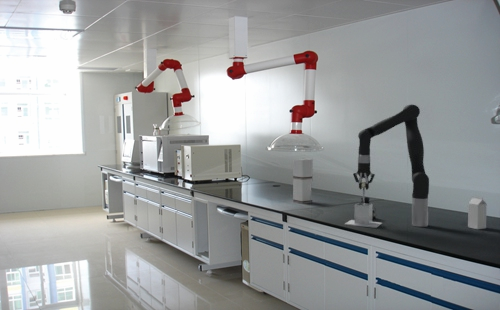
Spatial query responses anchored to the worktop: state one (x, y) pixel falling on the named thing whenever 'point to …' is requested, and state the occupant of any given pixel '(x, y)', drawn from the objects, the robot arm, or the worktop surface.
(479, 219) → the milk carton
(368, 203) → the scope
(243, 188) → the worktop surface
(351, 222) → the tray
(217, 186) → the worktop surface
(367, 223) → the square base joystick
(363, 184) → the plunger
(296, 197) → the grey banded column
